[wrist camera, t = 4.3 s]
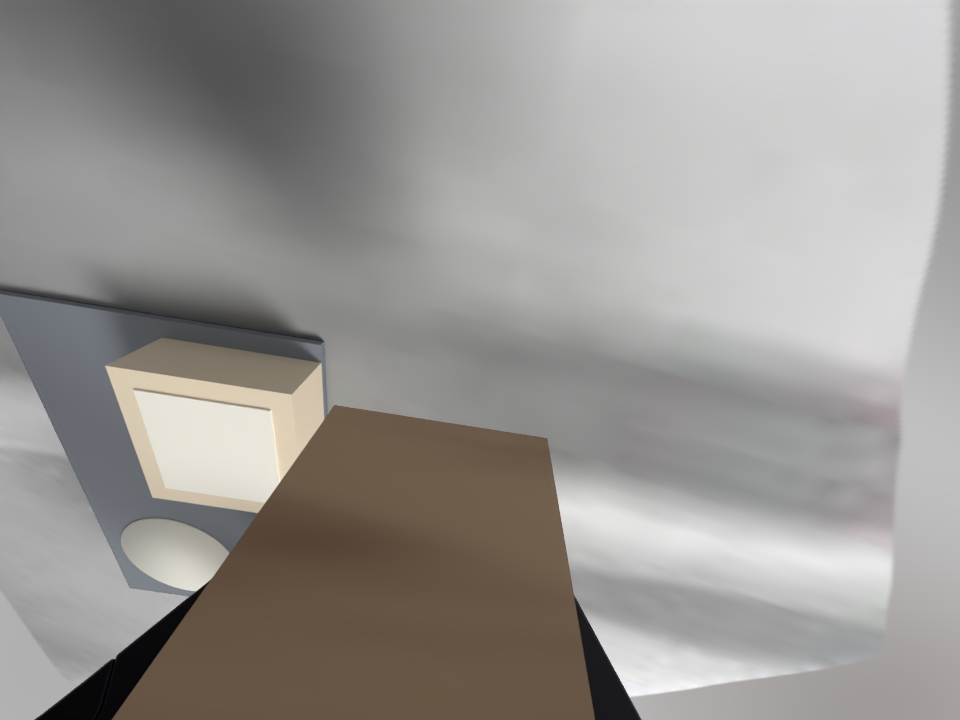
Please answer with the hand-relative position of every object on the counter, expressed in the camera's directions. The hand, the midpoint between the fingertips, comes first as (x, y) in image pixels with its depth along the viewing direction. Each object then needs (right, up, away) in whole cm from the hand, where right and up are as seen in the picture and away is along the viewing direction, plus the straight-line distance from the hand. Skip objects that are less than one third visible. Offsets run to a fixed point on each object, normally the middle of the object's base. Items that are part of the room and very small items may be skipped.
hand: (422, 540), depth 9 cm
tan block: (0, +1, +1) cm, 1 cm away
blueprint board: (-16, -4, +15) cm, 23 cm away
